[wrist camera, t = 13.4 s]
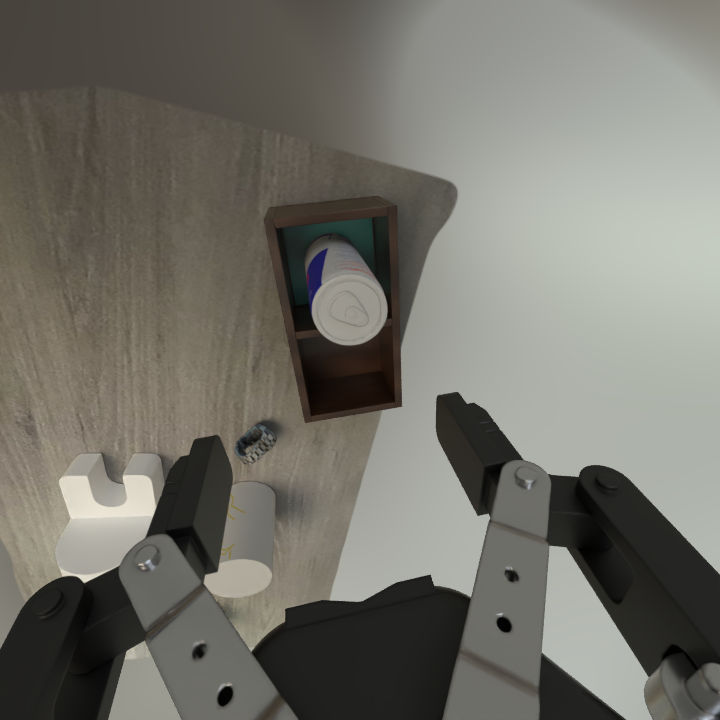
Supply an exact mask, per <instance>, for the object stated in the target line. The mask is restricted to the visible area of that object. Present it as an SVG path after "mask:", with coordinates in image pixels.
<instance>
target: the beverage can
mask: <svg viewBox="0 0 720 720" xmlns="http://www.w3.org/2000/svg"><path fill="white" fill-rule="evenodd" d="M304 264H305V271H306V279H307V287H308V295H309V303H310V311H311V316H312V319H313V321H314V323H315V325H316V327H317V329H318V330H319V331H320V333H321V334H322V335H323V336H325V337H326V338H327V339H329V340H330V341H332V342H335V343H337V344H341V345H357V344H361V343H364V342H366V341H368V340H370V339H372V338H373V337H374V336H376V335H377V334H378V333H379V331H380V330H381V329H382V327H383V325H384V323H385V321H386V318H387V311H388V308H387V301H386V297H385V294H384V291H383V289H382V287H381V285H380V284H379V282H378V281H377V279H376V278H375V276H374V275H373V273H372V272H371V271H370V269H369V268H368V266H367V265H366V263H365V262H364V260H363V259H362V257H361V256H360V254H359V253H358V251H357V250H356V249H355V247H354V246H353V244H352V243H351V242H350V241H349V240H348V239H347V238H346V237H344V236H342V235H340V234H336V233H325V234H322V235H319V236H317V237H316V238H315V239H313V240H312V241H311V242H310V244H309V245H308V247H307V249H306V251H305V256H304Z"/></svg>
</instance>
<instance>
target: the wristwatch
mask: <svg viewBox="0 0 720 720" xmlns="http://www.w3.org/2000/svg"><path fill="white" fill-rule="evenodd" d="M276 440H277V437H276V436H275V435H274V434H273V433H272V432H271V431H270V430H269V429H268V428H266V427H265V426H263V425H260V424H257V425H255V426H254V427H253V428H251V429H250V430H249V431H248V432H247V433H246V435H245V436H243V437H241V438H240V439H239V440H238V441H237V442H236V445H237V446H235V454H236V456H237V457H238V458H239V459H240V460H241V461H242V462H243V463H244V464H247V465H252V464H253V463H255V462H256V461H257V460H258V459H260V458H261V457H262V456H263V455H264V454H265V453H266V452H267V451H269V450H270V449H272V447H273V446H274V444H275V443H276ZM256 442H257V443H256ZM255 443H256V445H255V446H254V448H253V449H252V450H251V451H250V452H249V453H247V454H246V452H245V450H246V449H247V448H248V447H249V446H252V445H254V444H255Z"/></svg>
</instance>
